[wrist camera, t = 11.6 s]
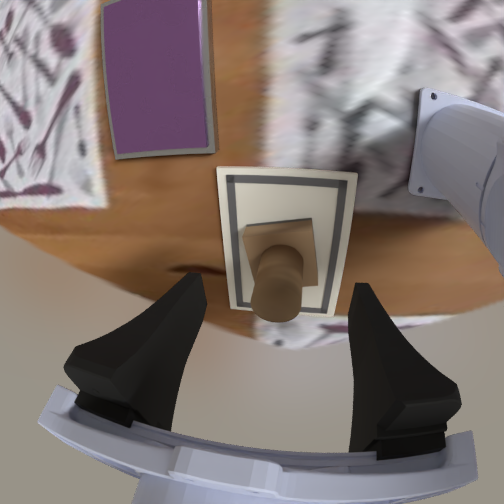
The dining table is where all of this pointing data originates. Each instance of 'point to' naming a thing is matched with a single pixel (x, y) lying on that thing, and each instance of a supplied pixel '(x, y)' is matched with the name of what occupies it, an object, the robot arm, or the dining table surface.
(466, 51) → the dining table surface
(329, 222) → the marked card
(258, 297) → the stamp
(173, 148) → the ink pad
